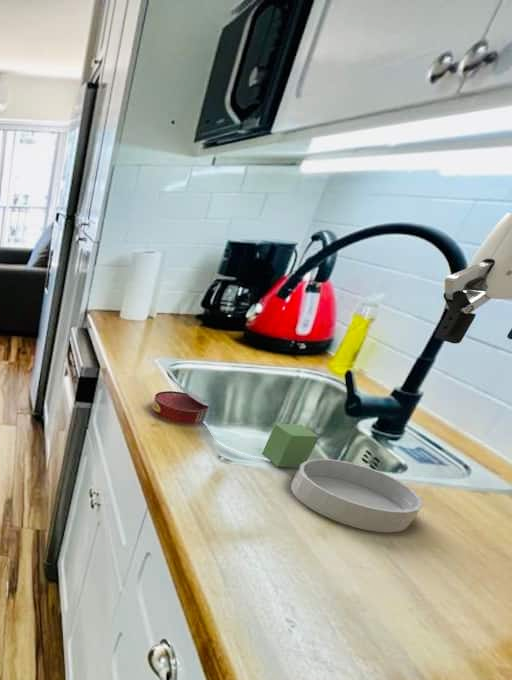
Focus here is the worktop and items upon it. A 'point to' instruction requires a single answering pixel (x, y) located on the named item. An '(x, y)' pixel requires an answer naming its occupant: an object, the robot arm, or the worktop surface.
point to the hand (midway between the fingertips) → (483, 340)
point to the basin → (356, 495)
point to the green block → (289, 445)
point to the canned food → (180, 406)
